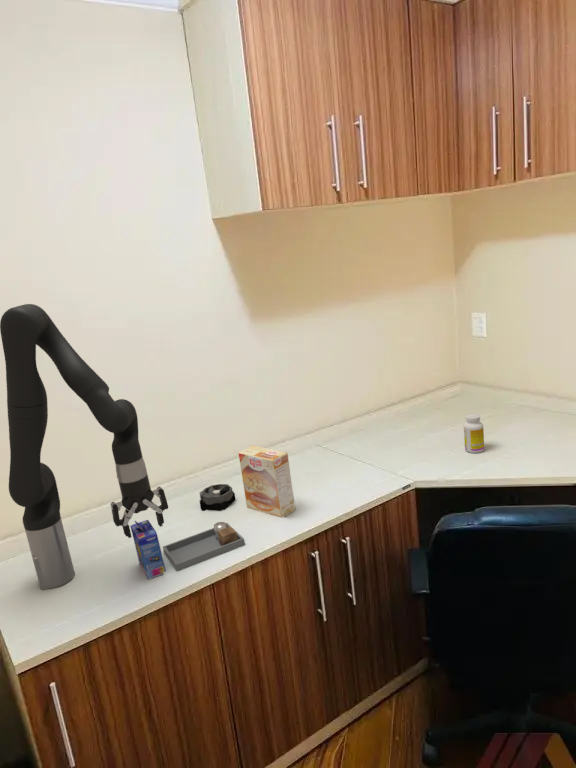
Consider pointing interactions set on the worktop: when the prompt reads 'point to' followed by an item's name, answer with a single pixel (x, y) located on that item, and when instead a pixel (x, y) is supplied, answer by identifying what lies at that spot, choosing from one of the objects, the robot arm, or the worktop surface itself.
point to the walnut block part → (226, 536)
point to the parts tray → (198, 548)
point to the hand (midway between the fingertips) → (145, 530)
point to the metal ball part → (219, 528)
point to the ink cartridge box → (148, 549)
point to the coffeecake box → (267, 481)
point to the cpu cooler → (216, 497)
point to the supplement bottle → (473, 434)
